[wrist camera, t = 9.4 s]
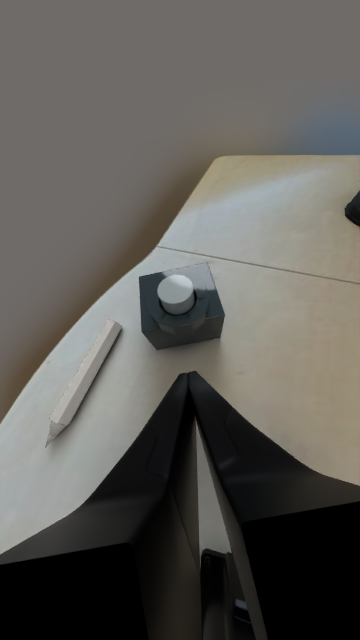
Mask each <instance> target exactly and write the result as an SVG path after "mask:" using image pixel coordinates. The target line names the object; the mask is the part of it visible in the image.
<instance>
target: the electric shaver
mask: <svg viewBox="0 0 360 640" xmlns="http://www.w3.org/2000/svg"><path fill="white" fill-rule="evenodd" d="M345 216H346V217H348V218H349V219H350V220H351V221H353V222H354V223H355V224H357V225H360V191H359V192H358V193H357V195H356V196H355V197H354V198H353V200H352V201H351V202H350V203H348V205H347V206H346V208H345Z"/></svg>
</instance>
